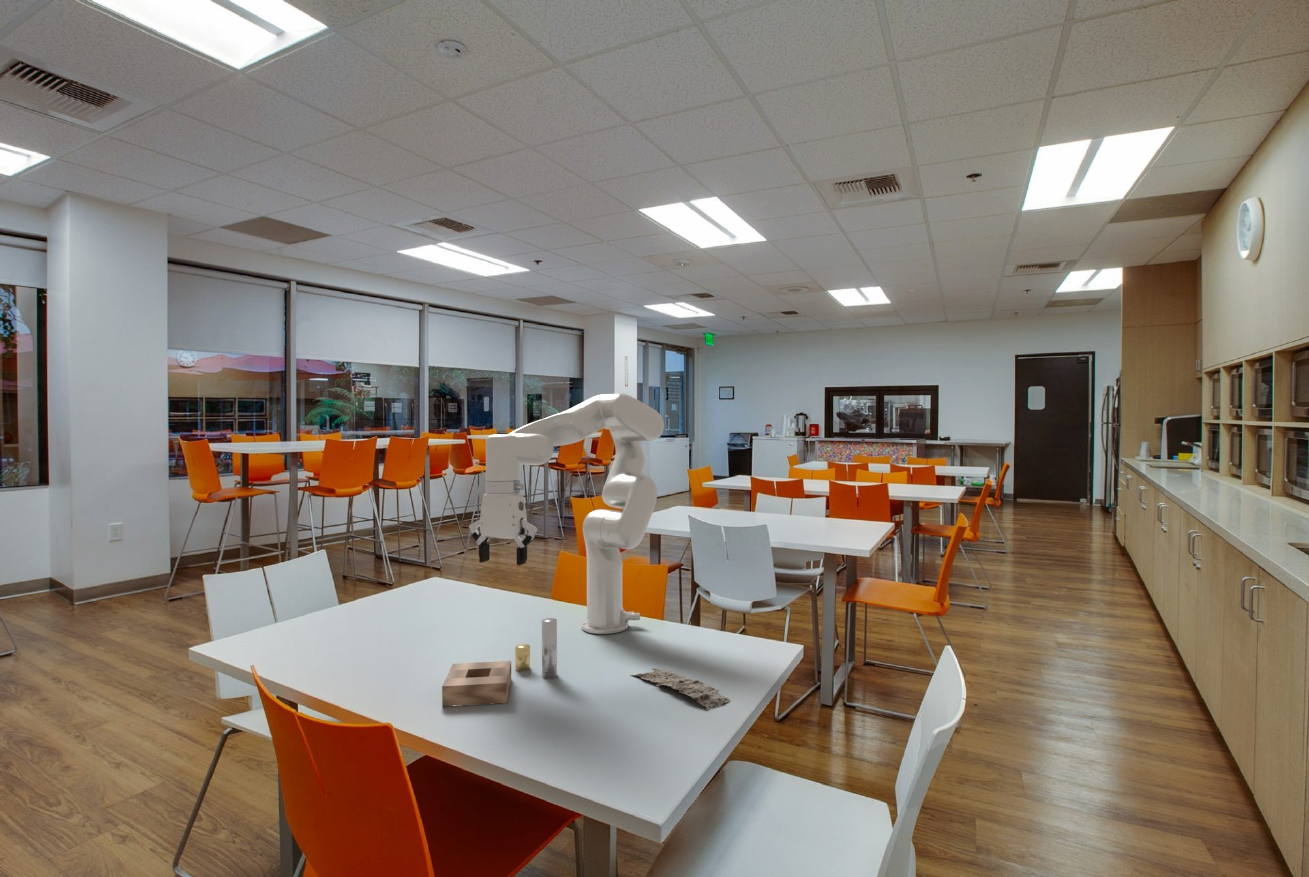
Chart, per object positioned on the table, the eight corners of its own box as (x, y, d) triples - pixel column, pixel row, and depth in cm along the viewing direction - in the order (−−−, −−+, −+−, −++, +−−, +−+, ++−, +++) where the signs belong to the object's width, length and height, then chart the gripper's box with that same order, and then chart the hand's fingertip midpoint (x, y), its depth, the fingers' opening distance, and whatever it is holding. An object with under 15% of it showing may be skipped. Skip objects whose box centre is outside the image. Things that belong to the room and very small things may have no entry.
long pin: (557, 672, 140) (556, 617, 140) (557, 677, 137) (556, 621, 137) (542, 673, 140) (542, 618, 140) (541, 678, 136) (541, 622, 136)
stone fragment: (712, 718, 120) (740, 700, 128) (712, 703, 120) (740, 685, 128) (614, 682, 136) (644, 668, 144) (613, 669, 136) (644, 655, 144)
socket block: (511, 679, 136) (511, 660, 136) (506, 703, 124) (506, 682, 124) (452, 682, 134) (452, 663, 134) (442, 707, 123) (442, 686, 123)
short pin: (530, 665, 144) (530, 643, 144) (529, 670, 141) (529, 648, 141) (515, 666, 144) (515, 644, 144) (514, 671, 141) (514, 648, 141)
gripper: (544, 488, 148) (544, 562, 148) (479, 486, 153) (479, 557, 153) (528, 490, 141) (528, 568, 141) (460, 488, 146) (460, 563, 146)
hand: (502, 562), depth 147 cm, fingers open, 9 cm apart
